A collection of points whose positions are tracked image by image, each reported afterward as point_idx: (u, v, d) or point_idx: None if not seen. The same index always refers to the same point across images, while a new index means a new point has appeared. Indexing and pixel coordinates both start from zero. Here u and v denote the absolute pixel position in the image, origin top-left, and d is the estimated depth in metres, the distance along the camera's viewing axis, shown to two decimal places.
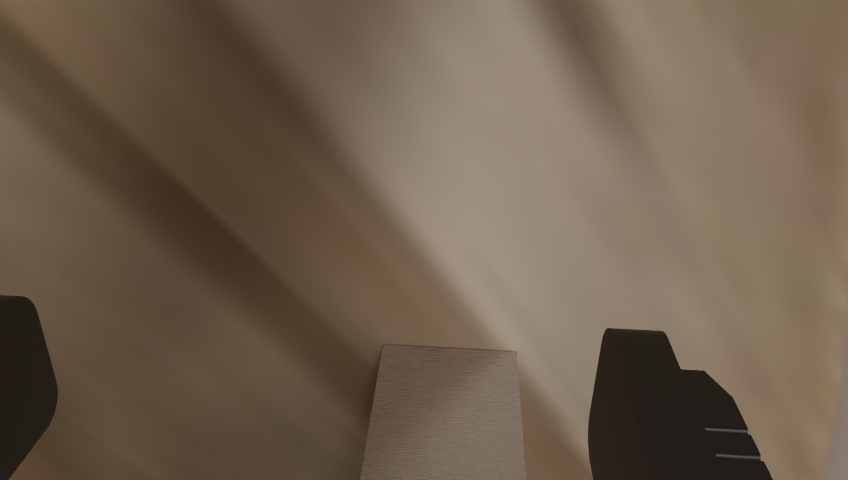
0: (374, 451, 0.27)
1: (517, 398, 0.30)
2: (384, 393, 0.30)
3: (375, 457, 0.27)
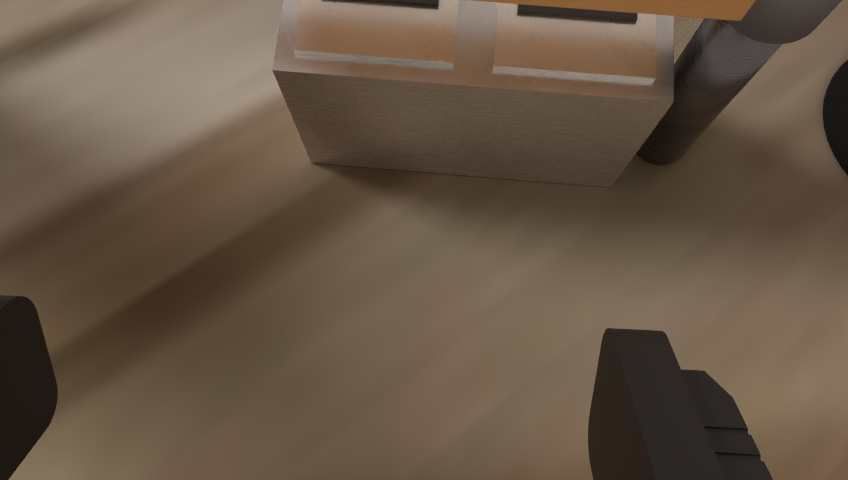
0: None
1: None
2: None
3: None
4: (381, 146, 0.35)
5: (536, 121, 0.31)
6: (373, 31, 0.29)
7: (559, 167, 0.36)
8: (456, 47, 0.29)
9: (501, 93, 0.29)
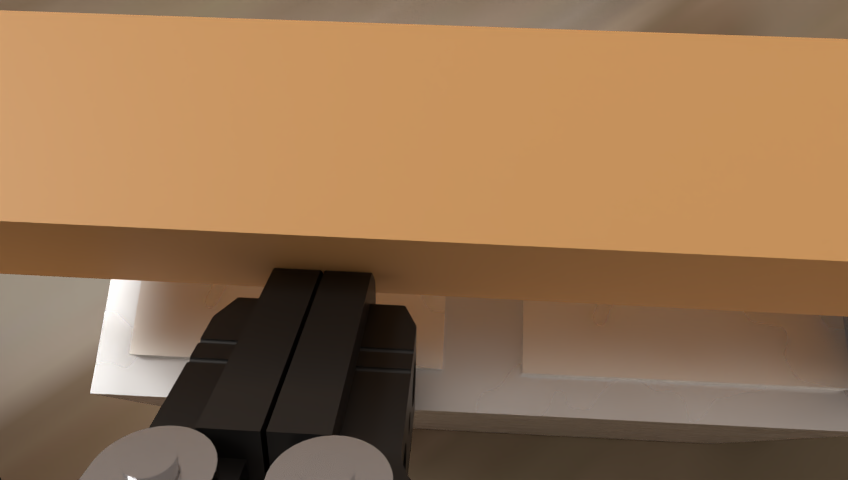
0: None
1: None
2: None
3: None
4: None
5: (602, 426, 0.17)
6: None
7: (631, 436, 0.22)
8: (447, 329, 0.15)
9: (540, 417, 0.15)
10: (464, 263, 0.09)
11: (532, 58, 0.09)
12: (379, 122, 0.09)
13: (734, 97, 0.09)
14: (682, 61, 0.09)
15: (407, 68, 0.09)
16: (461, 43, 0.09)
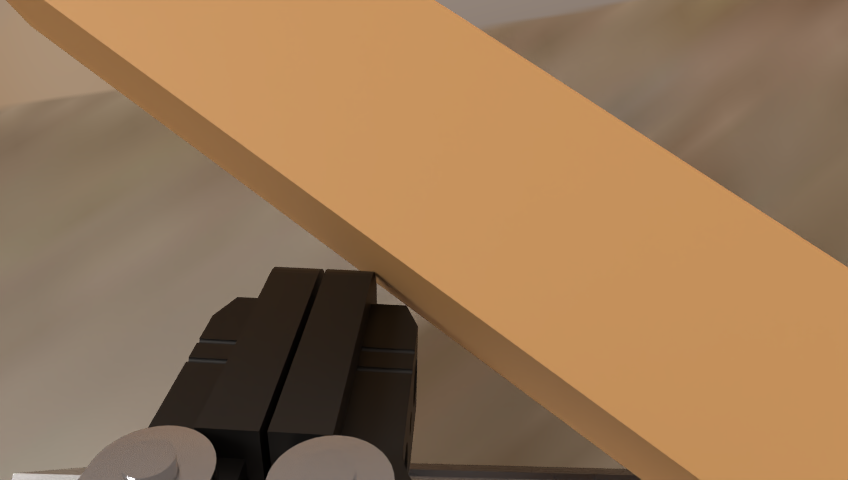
0: None
1: None
2: None
3: None
4: None
5: None
6: None
7: None
8: None
9: None
10: (476, 331, 0.09)
11: (658, 186, 0.08)
12: (476, 159, 0.09)
13: (832, 346, 0.08)
14: (804, 279, 0.08)
15: (536, 124, 0.09)
16: (600, 132, 0.09)
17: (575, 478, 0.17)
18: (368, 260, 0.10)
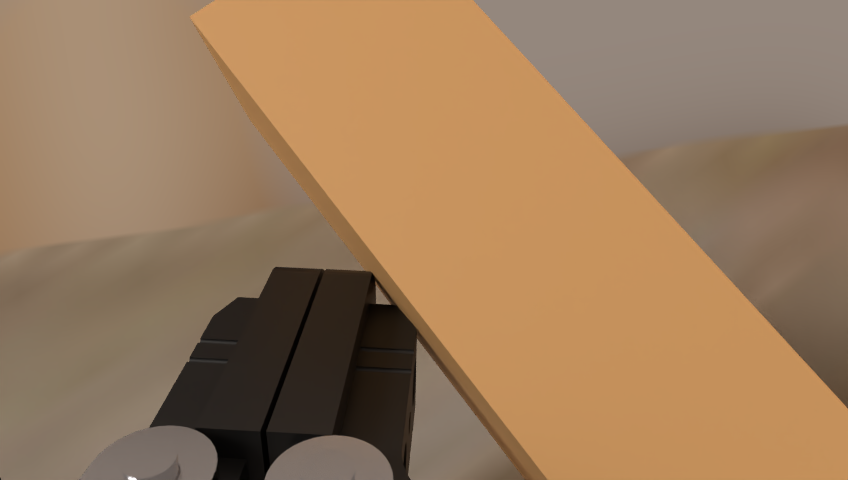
0: None
1: None
2: None
3: None
4: None
5: None
6: None
7: None
8: None
9: None
10: None
11: None
12: None
13: None
14: None
15: (815, 460, 0.07)
16: None
17: None
18: None
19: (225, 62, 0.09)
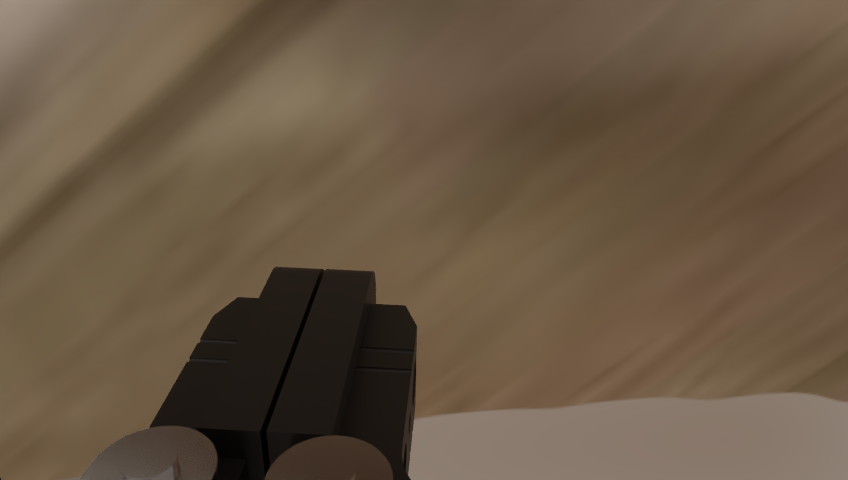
0: None
1: None
2: None
3: None
4: None
5: None
6: None
7: None
8: None
9: None
10: None
11: None
12: None
13: None
14: None
15: None
16: None
17: None
18: None
19: None
